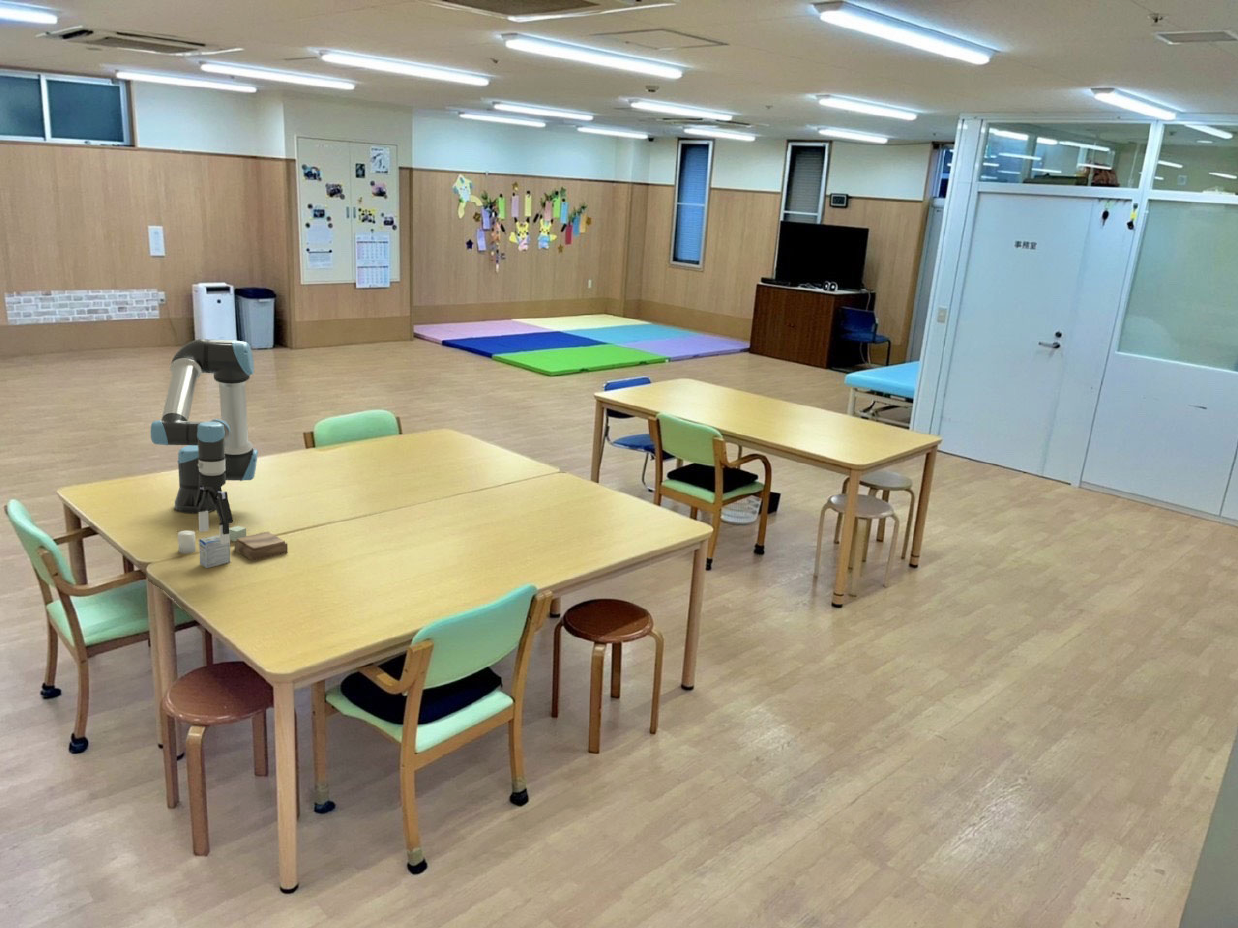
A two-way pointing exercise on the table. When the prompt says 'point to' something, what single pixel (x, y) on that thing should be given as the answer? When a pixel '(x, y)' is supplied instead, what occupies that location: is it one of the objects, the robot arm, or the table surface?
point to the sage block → (237, 532)
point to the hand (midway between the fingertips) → (214, 537)
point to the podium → (260, 546)
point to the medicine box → (213, 551)
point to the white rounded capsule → (186, 541)
